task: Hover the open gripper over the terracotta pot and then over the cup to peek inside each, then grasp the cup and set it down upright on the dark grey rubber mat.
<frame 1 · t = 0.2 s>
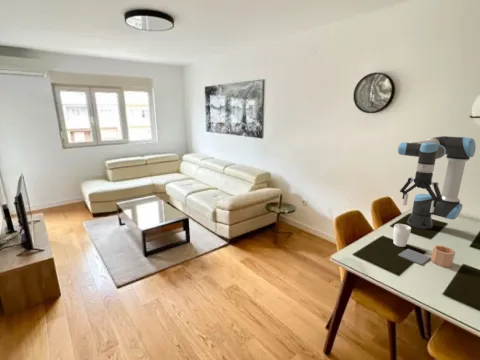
hand: (417, 208, 146), 28 cm above the table, fingers open, 13 cm apart
mat: (414, 257, 148), on the table
pot: (441, 262, 143), on the table
cup: (399, 244, 163), on the table
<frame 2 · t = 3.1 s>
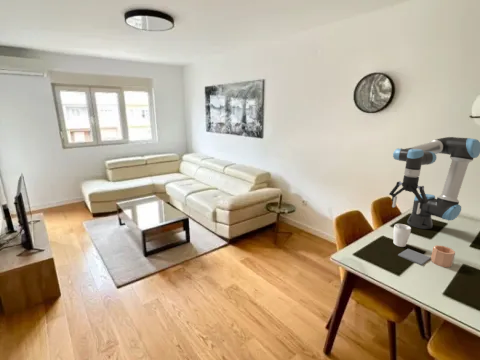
hand: (405, 210, 157), 23 cm above the table, fingers open, 13 cm apart
nothing on the table moved.
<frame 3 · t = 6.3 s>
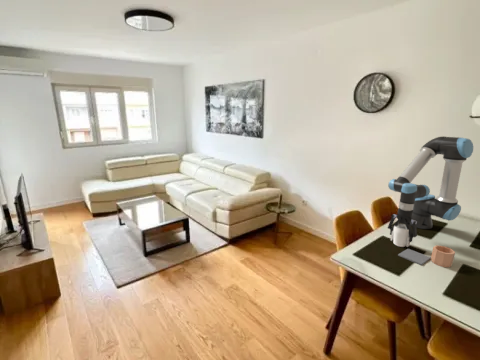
hand: (399, 242, 162), 1 cm above the table, fingers closed on cup, 9 cm apart
cup: (399, 244, 163), on the table, touching gripper
everything else where it was.
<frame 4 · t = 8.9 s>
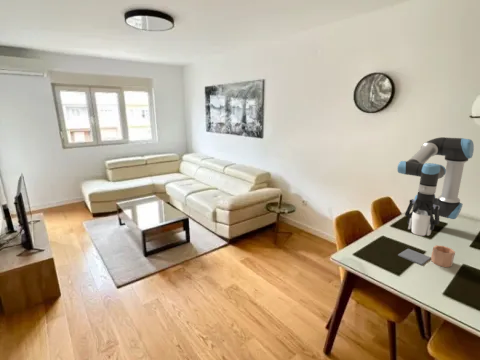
hand: (418, 231, 144), 16 cm above the table, fingers closed on cup, 9 cm apart
cup: (418, 233, 144), point 15 cm above the table, touching gripper
everything else where it was.
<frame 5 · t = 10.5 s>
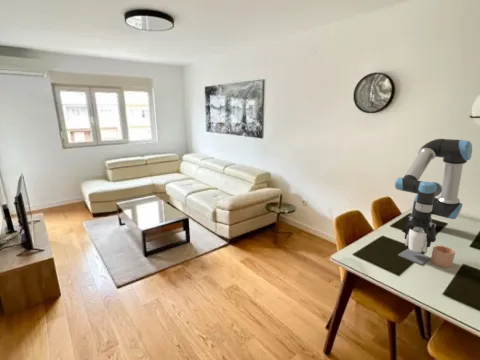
hand: (415, 248, 147), 6 cm above the table, fingers closed on cup, 9 cm apart
cup: (415, 249, 147), point 5 cm above the table, touching gripper
everything else where it was.
when the fingers open (3 cm above the table, at t = 11.6 s): cup drops 1 cm, resting on mat.
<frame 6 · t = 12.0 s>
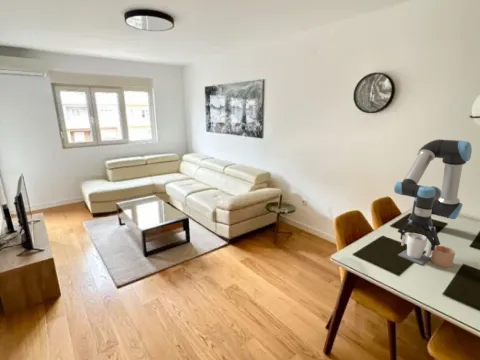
hand: (415, 250, 147), 4 cm above the table, fingers open, 13 cm apart
cup: (413, 255, 148), point 1 cm above the table, touching mat
everything else where it was.
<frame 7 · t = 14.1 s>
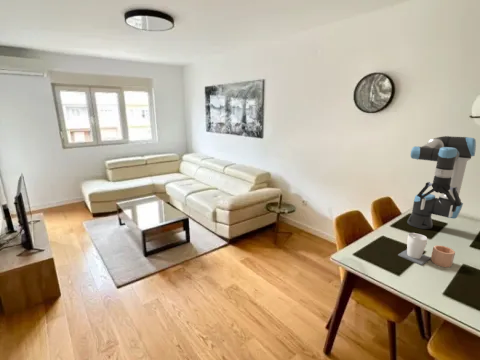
hand: (435, 212, 146), 25 cm above the table, fingers open, 13 cm apart
nothing on the table moved.
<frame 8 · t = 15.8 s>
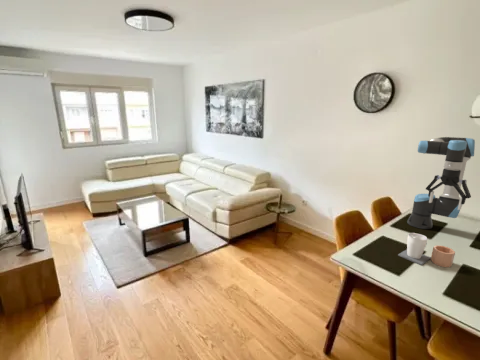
hand: (444, 205, 147), 29 cm above the table, fingers open, 13 cm apart
nothing on the table moved.
at the end: cup inside the target area on the mat (0.2 cm from its centre), point 0.6 cm above the mat's base; cup tilted 0°; cup touching mat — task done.
